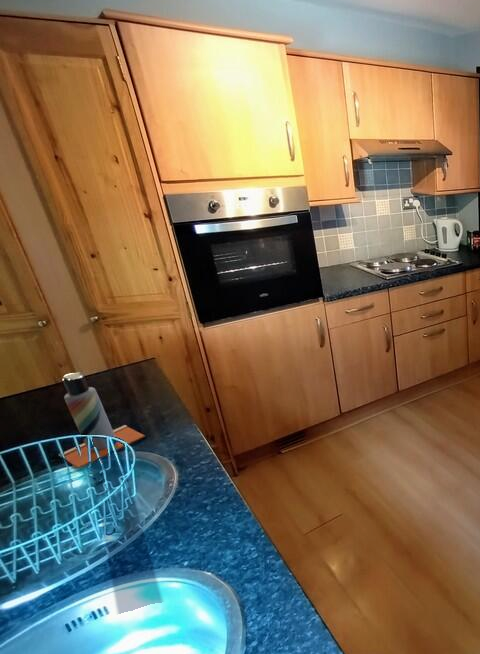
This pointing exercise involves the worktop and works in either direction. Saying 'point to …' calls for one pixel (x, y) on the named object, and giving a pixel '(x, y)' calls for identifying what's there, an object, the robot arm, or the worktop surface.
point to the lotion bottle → (86, 410)
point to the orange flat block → (121, 432)
